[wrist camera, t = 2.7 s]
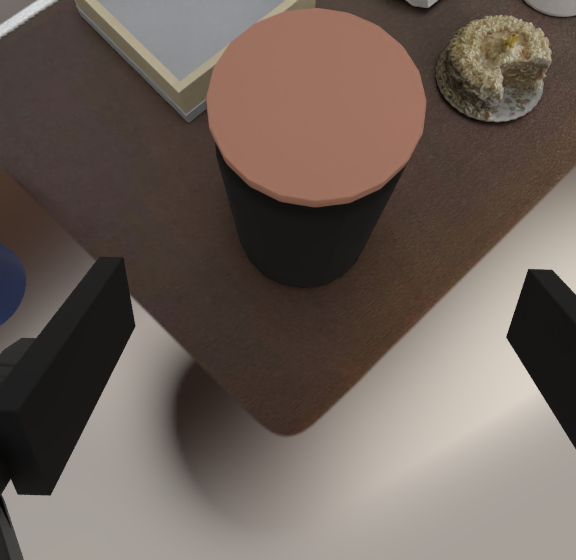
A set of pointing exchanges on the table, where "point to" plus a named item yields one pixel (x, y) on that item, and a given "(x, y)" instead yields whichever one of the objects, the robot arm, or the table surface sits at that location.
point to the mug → (554, 7)
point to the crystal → (421, 3)
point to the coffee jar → (312, 137)
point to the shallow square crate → (178, 39)
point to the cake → (494, 68)
